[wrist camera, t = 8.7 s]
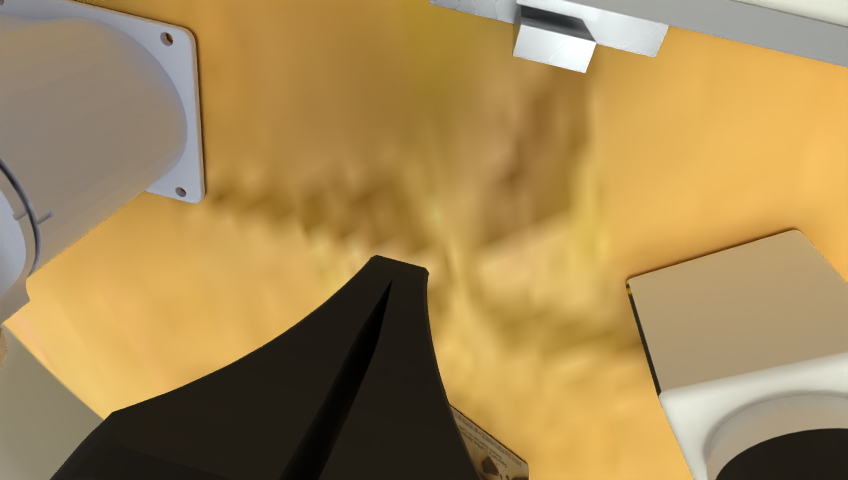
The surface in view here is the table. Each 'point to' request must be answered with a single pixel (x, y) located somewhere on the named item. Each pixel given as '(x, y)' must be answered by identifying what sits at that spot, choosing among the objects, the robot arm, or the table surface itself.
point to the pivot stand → (565, 29)
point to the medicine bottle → (751, 359)
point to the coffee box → (489, 453)
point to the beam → (752, 22)
